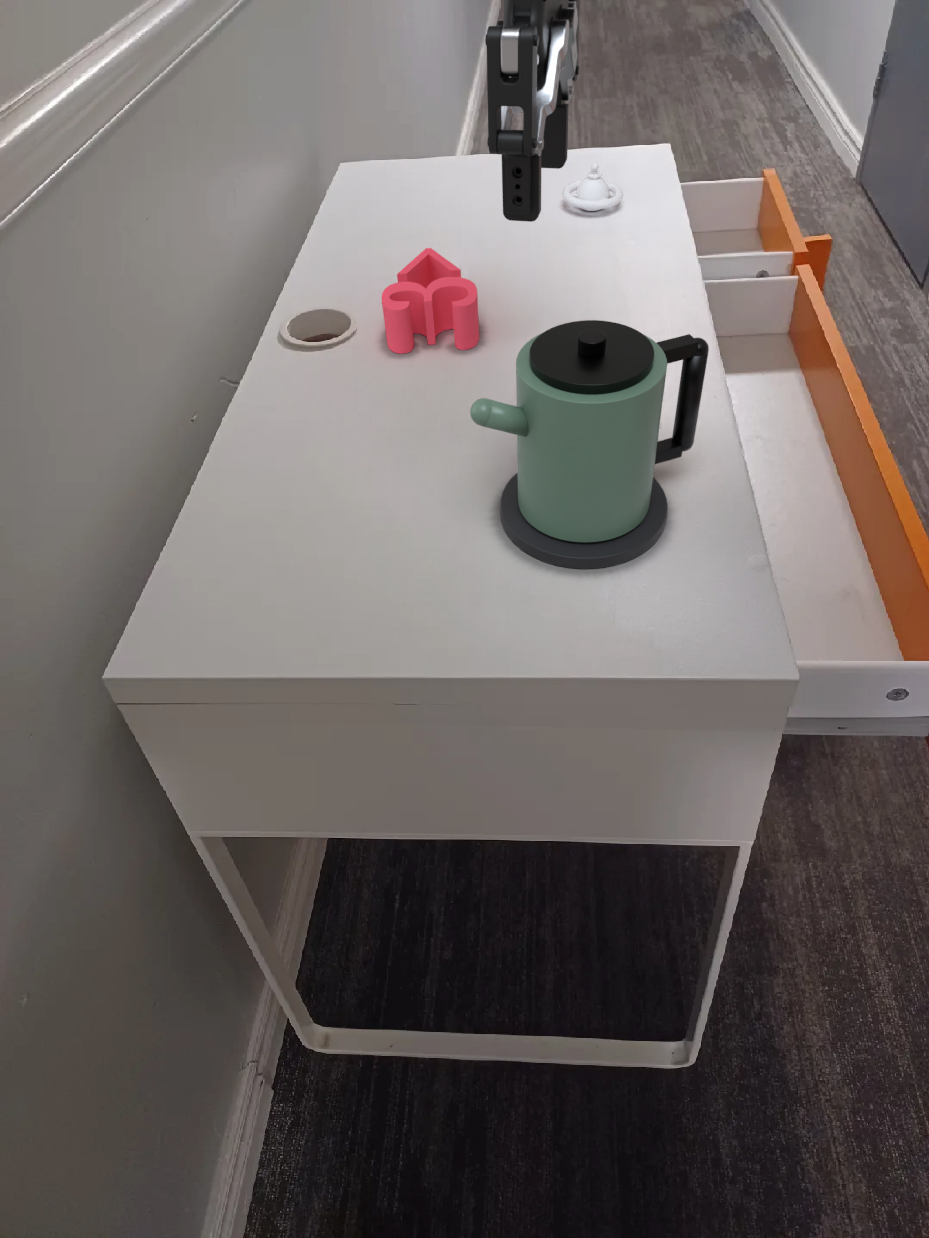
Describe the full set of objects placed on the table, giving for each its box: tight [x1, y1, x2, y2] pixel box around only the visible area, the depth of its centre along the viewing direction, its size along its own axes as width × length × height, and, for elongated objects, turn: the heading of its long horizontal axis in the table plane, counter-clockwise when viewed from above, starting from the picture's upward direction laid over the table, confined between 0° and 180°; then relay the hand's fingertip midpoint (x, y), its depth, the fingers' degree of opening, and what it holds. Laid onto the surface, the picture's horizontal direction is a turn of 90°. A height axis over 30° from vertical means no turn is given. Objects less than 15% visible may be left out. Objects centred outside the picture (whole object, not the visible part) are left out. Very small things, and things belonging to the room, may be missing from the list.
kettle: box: [469, 319, 710, 543], centre depth 69 cm, size 19×11×15 cm, turn 110°
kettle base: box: [499, 471, 668, 570], centre depth 75 cm, size 14×14×1 cm
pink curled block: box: [381, 247, 480, 355], centre depth 97 cm, size 14×10×5 cm
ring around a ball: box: [561, 162, 624, 212], centre depth 115 cm, size 8×6×8 cm
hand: (536, 191), depth 56 cm, fingers open, 8 cm apart
